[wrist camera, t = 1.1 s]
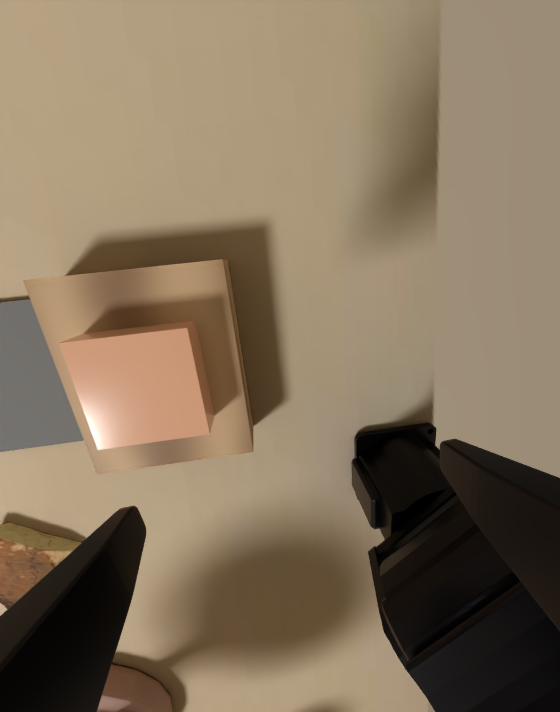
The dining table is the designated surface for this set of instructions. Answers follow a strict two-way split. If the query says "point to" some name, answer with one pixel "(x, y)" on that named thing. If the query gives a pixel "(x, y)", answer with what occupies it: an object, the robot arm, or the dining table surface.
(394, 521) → the robot arm
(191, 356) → the pink square block
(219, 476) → the dining table surface
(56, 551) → the shard
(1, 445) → the mat
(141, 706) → the hourglass
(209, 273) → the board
